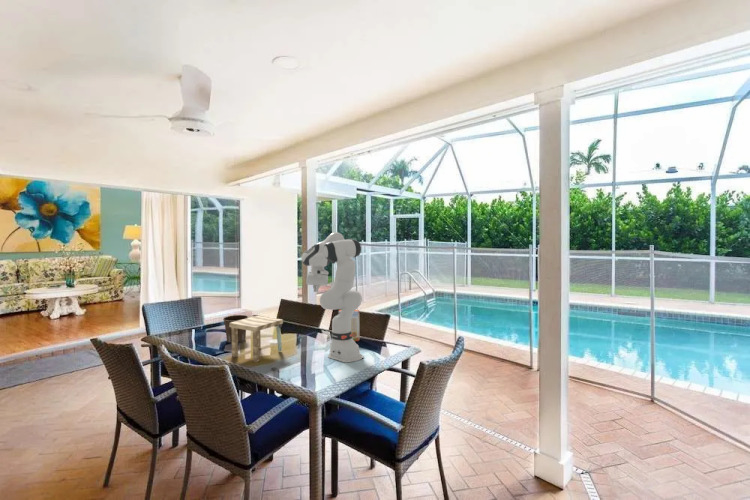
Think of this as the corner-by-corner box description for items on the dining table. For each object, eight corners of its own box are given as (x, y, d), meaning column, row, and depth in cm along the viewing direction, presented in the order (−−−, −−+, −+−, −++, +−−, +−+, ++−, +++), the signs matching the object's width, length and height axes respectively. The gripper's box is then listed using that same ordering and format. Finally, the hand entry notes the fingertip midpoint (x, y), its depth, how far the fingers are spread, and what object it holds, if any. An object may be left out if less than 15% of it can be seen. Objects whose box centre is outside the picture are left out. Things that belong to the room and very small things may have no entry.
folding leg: (280, 350, 236) (278, 323, 234) (282, 351, 235) (280, 324, 233) (277, 351, 234) (275, 324, 232) (280, 352, 233) (278, 325, 231)
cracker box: (359, 339, 263) (359, 309, 262) (358, 341, 257) (358, 311, 256) (340, 338, 264) (339, 309, 263) (338, 341, 258) (338, 310, 257)
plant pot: (240, 344, 250) (239, 320, 250) (218, 343, 254) (218, 319, 253) (252, 338, 266) (252, 315, 266) (232, 336, 269) (231, 314, 269)
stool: (258, 346, 245) (257, 315, 244) (283, 352, 234) (282, 319, 233) (230, 356, 226) (229, 322, 225) (256, 362, 215) (255, 327, 214)
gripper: (304, 271, 263) (303, 291, 262) (322, 271, 249) (321, 292, 248) (312, 272, 268) (310, 291, 266) (330, 272, 253) (328, 292, 252)
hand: (315, 291), depth 257 cm, fingers closed
